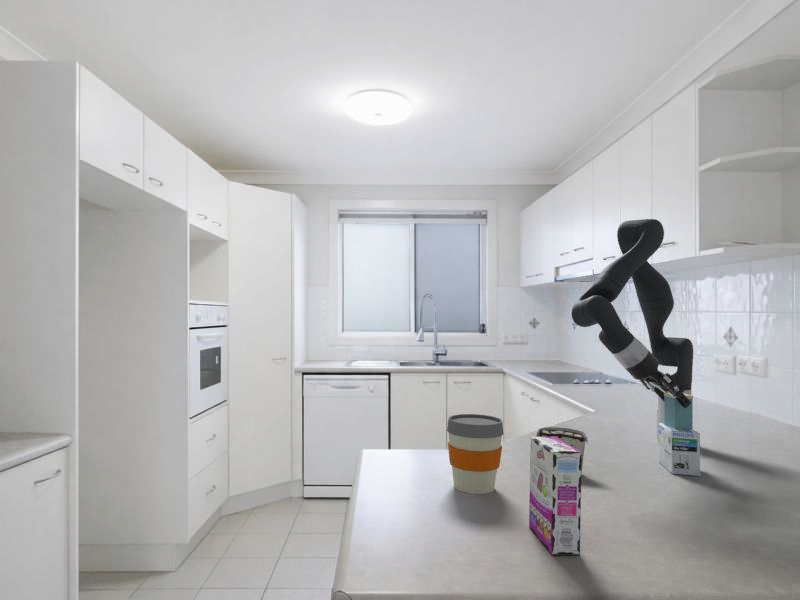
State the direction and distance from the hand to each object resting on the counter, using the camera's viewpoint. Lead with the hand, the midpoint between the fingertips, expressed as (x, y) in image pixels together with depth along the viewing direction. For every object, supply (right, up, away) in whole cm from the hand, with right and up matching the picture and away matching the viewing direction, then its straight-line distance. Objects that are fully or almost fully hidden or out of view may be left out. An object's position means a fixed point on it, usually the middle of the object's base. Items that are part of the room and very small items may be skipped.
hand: (677, 402), depth 127 cm
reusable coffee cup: (-56, -15, -18) cm, 60 cm away
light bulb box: (0, -17, -1) cm, 17 cm away
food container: (-31, -16, -3) cm, 35 cm away
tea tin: (0, -6, 0) cm, 6 cm away
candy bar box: (-46, -15, -44) cm, 65 cm away
